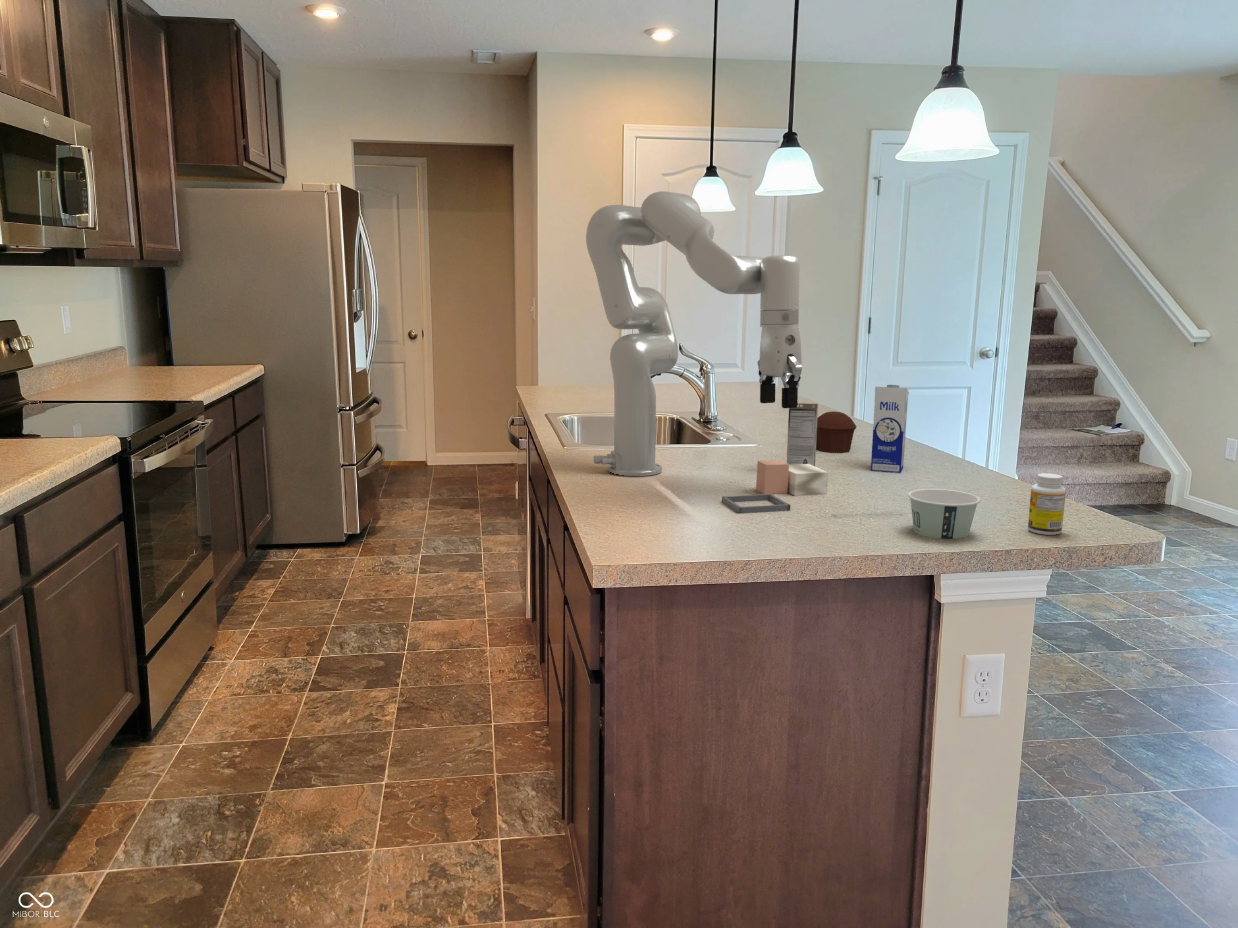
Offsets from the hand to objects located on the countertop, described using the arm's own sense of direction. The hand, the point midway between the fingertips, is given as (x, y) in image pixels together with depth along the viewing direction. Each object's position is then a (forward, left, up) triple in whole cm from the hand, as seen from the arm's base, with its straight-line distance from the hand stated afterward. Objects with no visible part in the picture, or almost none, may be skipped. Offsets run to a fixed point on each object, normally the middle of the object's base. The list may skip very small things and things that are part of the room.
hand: (778, 405), depth 183 cm
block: (-1, -1, -18) cm, 18 cm away
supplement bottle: (+36, -36, -19) cm, 54 cm away
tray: (-9, -12, -19) cm, 24 cm away
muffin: (+36, +46, -19) cm, 62 cm away
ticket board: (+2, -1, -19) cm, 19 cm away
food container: (+18, -32, -19) cm, 41 cm away
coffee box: (+14, +18, -19) cm, 30 cm away
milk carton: (+37, +20, -19) cm, 46 cm away
